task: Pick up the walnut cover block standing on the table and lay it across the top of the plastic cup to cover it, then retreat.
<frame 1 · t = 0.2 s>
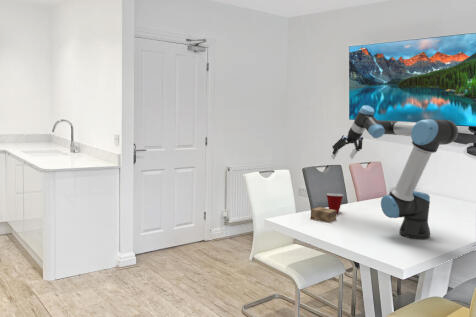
hand: (341, 157, 268), 35 cm above the table, tool tilted 35°, fingers open, 13 cm apart
plastic cup: (333, 213, 277), on the table
cover board: (323, 219, 260), on the table
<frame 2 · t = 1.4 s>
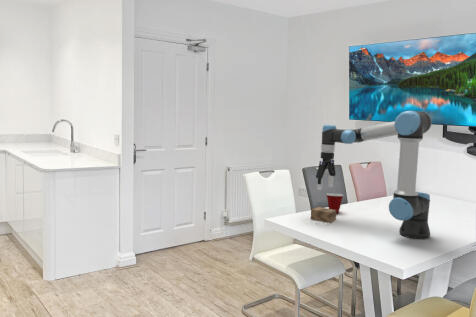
hand: (325, 188, 257), 18 cm above the table, tool pointing down, fingers open, 13 cm apart
nothing on the table moved.
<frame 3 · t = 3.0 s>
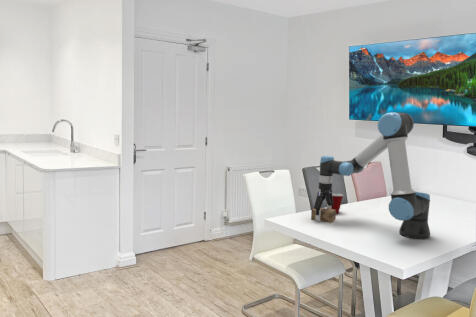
hand: (323, 218, 260), 1 cm above the table, tool pointing down, fingers open, 13 cm apart
nothing on the table moved.
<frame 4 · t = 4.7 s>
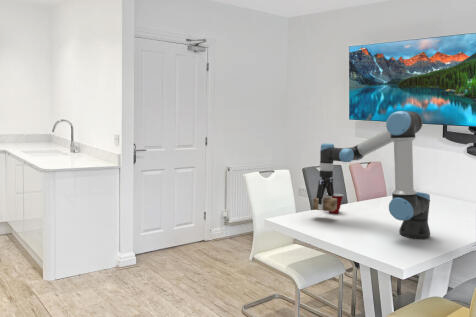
hand: (324, 208, 258), 7 cm above the table, tool pointing down, fingers closed on cover board, 10 cm apart
cover board: (325, 209, 258), point 6 cm above the table, touching gripper
everything else where it was.
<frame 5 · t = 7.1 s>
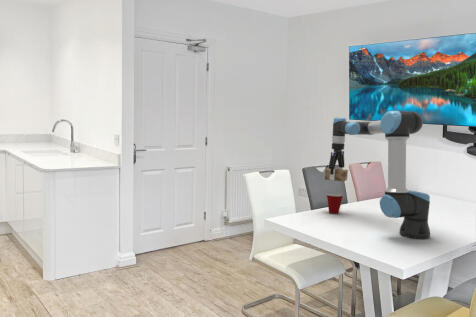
hand: (335, 178, 274), 21 cm above the table, tool pointing down, fingers closed on cover board, 10 cm apart
cover board: (336, 179, 274), point 21 cm above the table, touching gripper
everything else where it was.
when the fingers open (13 cm above the table, at t = 9.5 s): cover board stays where it is, resting on plastic cup.
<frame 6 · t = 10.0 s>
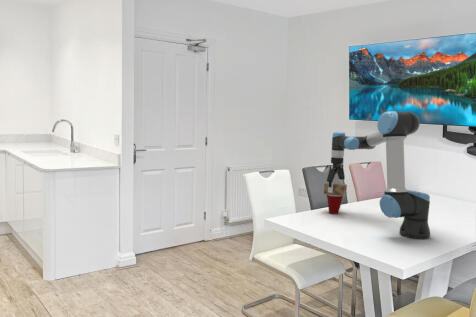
hand: (335, 191, 275), 14 cm above the table, tool pointing down, fingers open, 13 cm apart
plastic cup: (333, 213, 277), on the table, touching cover board
cover board: (335, 193, 276), point 12 cm above the table, touching plastic cup
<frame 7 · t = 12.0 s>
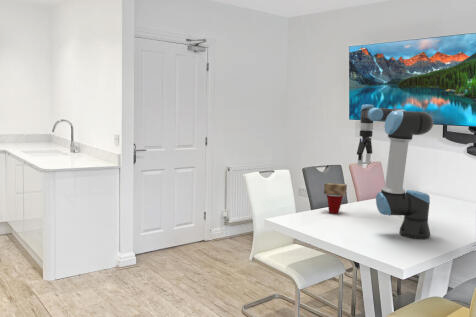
hand: (363, 164, 273), 31 cm above the table, tool pointing down, fingers open, 13 cm apart
nothing on the table moved.
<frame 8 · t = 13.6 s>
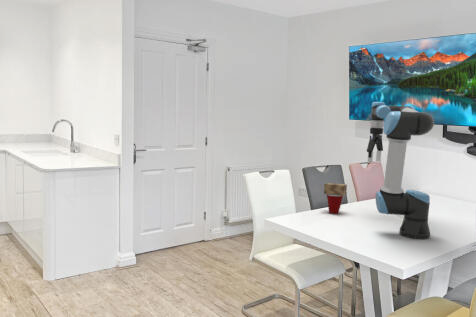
hand: (374, 162, 273), 33 cm above the table, tool pointing down, fingers open, 13 cm apart
nothing on the table moved.
at the end: cover board 0.1 cm from the plastic cup (horizontally); cover board point 12.0 cm above the table; plastic cup tilted 0° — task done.
